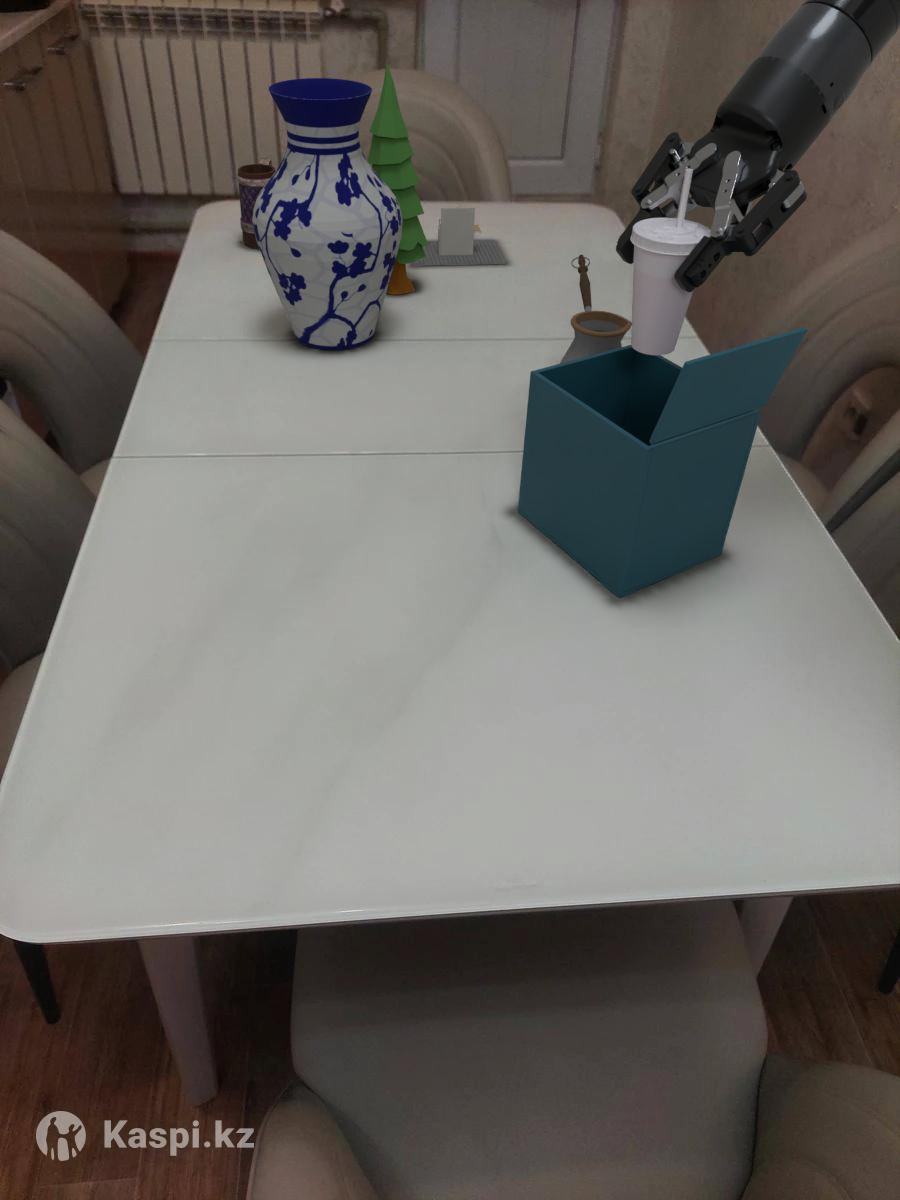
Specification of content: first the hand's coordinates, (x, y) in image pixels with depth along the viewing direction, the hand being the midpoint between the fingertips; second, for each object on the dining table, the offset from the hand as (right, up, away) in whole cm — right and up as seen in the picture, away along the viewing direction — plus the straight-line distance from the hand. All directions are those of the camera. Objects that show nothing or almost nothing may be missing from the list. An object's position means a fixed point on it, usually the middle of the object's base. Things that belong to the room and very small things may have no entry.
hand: (651, 270), depth 71 cm
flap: (+6, -9, -1) cm, 11 cm away
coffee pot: (0, -3, +38) cm, 38 cm away
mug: (-47, +35, +81) cm, 100 cm away
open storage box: (+1, -20, +18) cm, 27 cm away
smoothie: (+1, -5, +5) cm, 7 cm away
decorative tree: (-24, +22, +66) cm, 73 cm away
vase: (-32, +10, +52) cm, 62 cm away
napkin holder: (-15, +32, +78) cm, 86 cm away
